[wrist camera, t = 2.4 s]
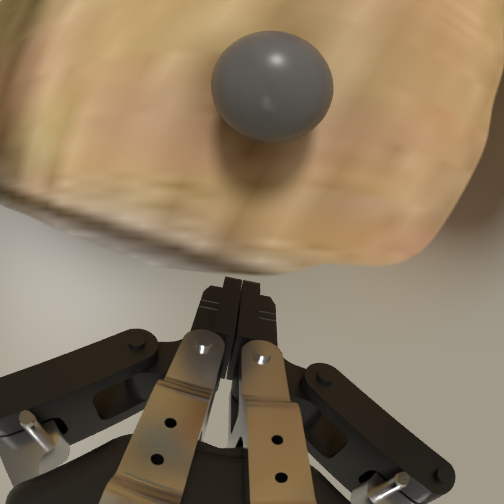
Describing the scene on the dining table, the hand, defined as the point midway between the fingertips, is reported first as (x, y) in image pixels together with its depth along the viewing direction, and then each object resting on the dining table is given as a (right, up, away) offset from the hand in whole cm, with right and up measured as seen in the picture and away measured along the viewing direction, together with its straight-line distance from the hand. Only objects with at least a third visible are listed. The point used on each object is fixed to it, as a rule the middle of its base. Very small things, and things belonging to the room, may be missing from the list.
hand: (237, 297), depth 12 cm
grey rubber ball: (+1, +9, -1) cm, 10 cm away
